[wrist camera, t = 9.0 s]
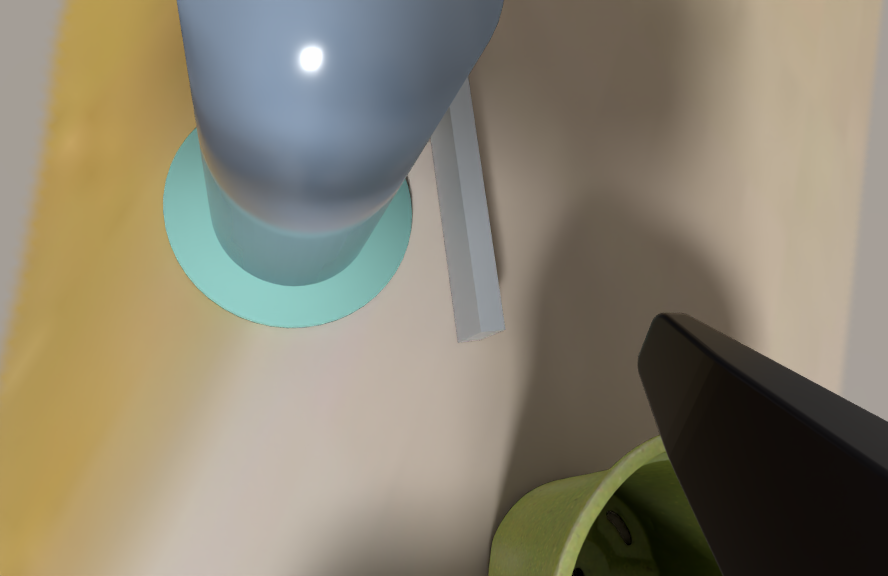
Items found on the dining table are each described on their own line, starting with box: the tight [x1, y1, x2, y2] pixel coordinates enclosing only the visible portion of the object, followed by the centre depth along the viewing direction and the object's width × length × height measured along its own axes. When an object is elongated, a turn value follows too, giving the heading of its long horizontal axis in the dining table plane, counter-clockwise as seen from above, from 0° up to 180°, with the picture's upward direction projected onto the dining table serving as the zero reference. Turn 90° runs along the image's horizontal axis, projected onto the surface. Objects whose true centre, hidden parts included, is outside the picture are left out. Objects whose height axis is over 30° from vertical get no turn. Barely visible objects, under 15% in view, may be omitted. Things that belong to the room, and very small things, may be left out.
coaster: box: [163, 127, 412, 328], centre depth 23 cm, size 8×8×1 cm
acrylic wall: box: [430, 77, 505, 343], centre depth 24 cm, size 12×1×2 cm, turn 8°
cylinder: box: [177, 0, 504, 286], centre depth 17 cm, size 5×5×13 cm
